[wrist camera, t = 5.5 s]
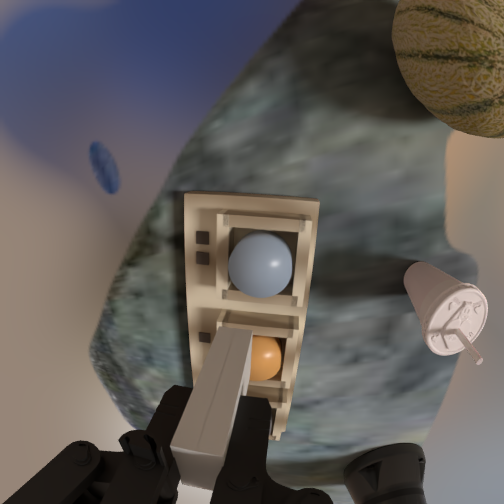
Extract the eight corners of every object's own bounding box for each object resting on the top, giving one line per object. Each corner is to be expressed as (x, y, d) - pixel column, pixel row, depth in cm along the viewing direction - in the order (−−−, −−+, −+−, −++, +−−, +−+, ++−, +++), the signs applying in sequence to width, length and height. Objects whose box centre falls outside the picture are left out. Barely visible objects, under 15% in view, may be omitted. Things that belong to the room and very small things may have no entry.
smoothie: (384, 301, 29) (431, 391, 16) (401, 244, 27) (471, 311, 14) (432, 307, 29) (490, 387, 15) (450, 253, 27) (527, 316, 13)
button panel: (285, 421, 36) (283, 445, 32) (201, 410, 38) (192, 433, 33) (317, 198, 27) (322, 206, 23) (191, 190, 28) (174, 197, 24)
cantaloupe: (427, -7, 18) (488, -70, 3) (508, 98, 20) (599, 88, 6) (340, 49, 22) (382, -35, 8) (437, 168, 24) (541, 188, 10)
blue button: (289, 287, 26) (288, 300, 24) (233, 282, 27) (227, 294, 24) (294, 232, 25) (294, 240, 22) (234, 227, 25) (228, 235, 23)
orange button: (279, 368, 30) (278, 383, 28) (232, 363, 31) (228, 377, 28) (284, 330, 28) (283, 344, 26) (233, 324, 29) (228, 338, 27)
